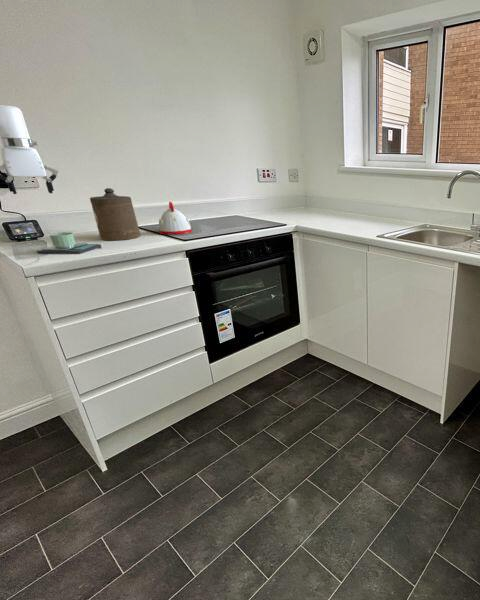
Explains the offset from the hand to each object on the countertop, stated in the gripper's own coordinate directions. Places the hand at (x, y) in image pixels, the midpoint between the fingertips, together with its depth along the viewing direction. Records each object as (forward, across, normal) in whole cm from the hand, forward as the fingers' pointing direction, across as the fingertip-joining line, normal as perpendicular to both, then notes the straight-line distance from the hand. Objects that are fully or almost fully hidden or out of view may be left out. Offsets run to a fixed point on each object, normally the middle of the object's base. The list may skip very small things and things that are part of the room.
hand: (33, 193), depth 132 cm
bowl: (+18, -3, +12) cm, 22 cm away
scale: (+22, -4, +13) cm, 26 cm away
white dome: (+21, -48, -7) cm, 53 cm away
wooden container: (+21, -25, -9) cm, 34 cm away
